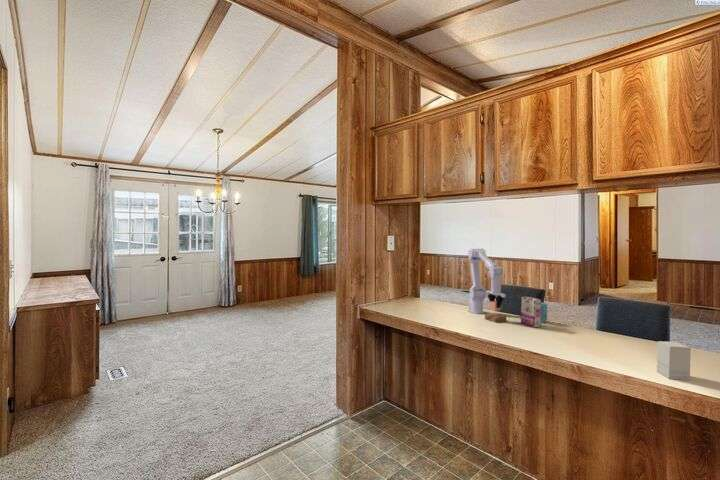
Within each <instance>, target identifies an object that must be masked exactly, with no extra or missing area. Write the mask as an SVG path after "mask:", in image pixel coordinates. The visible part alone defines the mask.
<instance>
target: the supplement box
mask: <svg viewBox="0 0 720 480" xmlns="http://www.w3.org/2000/svg"><path fill="white" fill-rule="evenodd" d="M656 345H657V347H656V349H657V351H656V353H657V354H656V372H657V373H658V372H659V374H660V375H662V376H663V377H664V378H667V379H670V380H679V379H680V380H682V381H690V380H691V350H692V349H691V347H690V346H687V345H684V344H683V343H680V342H678V341H666V340H665V341H661V340H660V341H657V344H656Z"/></svg>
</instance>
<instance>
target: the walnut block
mask: <svg viewBox="0 0 720 480" xmlns="http://www.w3.org/2000/svg"><path fill="white" fill-rule="evenodd" d="M484 320H485V321H489V322H492V323H503V322H507V316H506V315H503V314H499V313H496V312H494V313H484Z"/></svg>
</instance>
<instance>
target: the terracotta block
mask: <svg viewBox="0 0 720 480" xmlns="http://www.w3.org/2000/svg"><path fill="white" fill-rule="evenodd" d="M501 306H502V305H501ZM501 306H500V308H497V303H496V300H495V301H490V300H489V310H491V311H493V312H497V311H501V310H502V307H501Z"/></svg>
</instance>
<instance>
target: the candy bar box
mask: <svg viewBox="0 0 720 480" xmlns="http://www.w3.org/2000/svg"><path fill="white" fill-rule="evenodd" d="M541 302H542V299H539V298H537V297H532V296H521V303H520V304H521V305H520V310H521V311H520V323H521V324H523V325H525V326H528V327H530V328H531V327H532V328H541V326H542V325H541V324H542V323H541Z"/></svg>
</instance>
